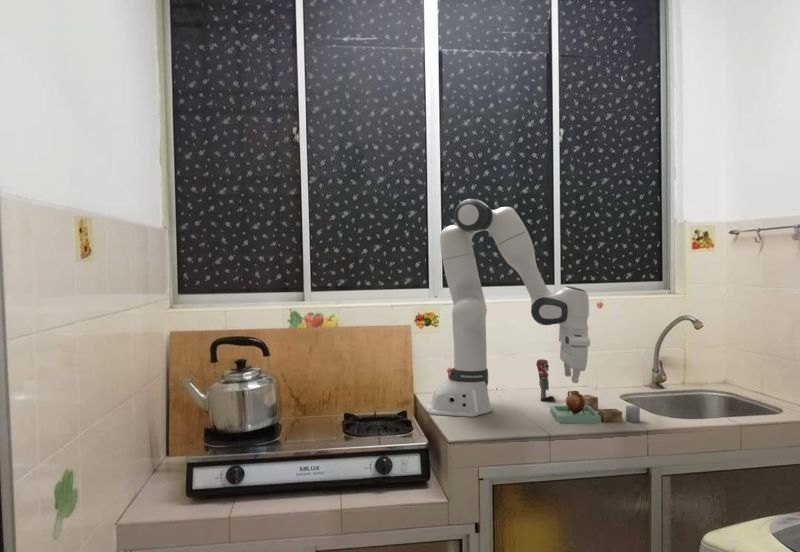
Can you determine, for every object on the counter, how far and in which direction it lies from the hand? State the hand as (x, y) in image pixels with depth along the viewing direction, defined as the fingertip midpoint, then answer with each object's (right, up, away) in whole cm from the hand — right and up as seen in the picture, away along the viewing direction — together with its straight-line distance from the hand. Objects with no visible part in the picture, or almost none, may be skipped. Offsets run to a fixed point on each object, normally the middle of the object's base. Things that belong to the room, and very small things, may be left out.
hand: (571, 379), depth 176 cm
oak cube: (+9, -12, +9) cm, 18 cm away
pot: (+1, -12, 0) cm, 12 cm away
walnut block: (+11, -12, -5) cm, 17 cm away
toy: (-2, -12, +22) cm, 25 cm away
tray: (+1, -12, 0) cm, 12 cm away
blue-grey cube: (+18, -12, -5) cm, 22 cm away
